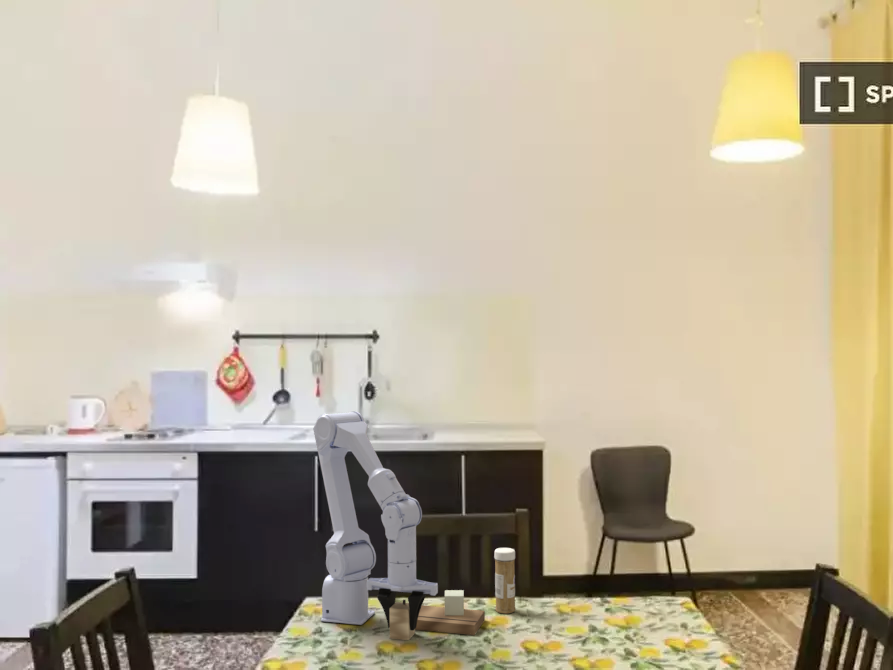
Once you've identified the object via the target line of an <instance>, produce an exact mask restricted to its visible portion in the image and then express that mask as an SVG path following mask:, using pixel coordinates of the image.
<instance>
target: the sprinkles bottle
mask: <svg viewBox="0 0 893 670" xmlns="http://www.w3.org/2000/svg"><path fill="white" fill-rule="evenodd" d="M493 558H494V561H495V564H494V565H495V566H494V567H495V568H494V569H495V573H494V585H495V586H494V590H495V592H494V596H495V607H494V608H495V609H494V610H495V612H497V613H499V614H507V615H508V614H512V613H515V611H516V580H515V579H516V575H515V559H516V551H515V548H511V547H498V548H496V549H495V550H494V556H493Z"/></svg>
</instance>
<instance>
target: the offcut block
mask: <svg viewBox="0 0 893 670" xmlns="http://www.w3.org/2000/svg"><path fill="white" fill-rule="evenodd" d="M464 591H465V590H464V589H463V590H462V589H459V590H458V589H454V590H453V589H451V590H448V589H446V590H444V607H445V615H464V609H465V608H464V607H465V606H464V605H465V603H464V602H465V596H464Z"/></svg>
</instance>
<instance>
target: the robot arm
mask: <svg viewBox="0 0 893 670" xmlns="http://www.w3.org/2000/svg"><path fill="white" fill-rule="evenodd" d="M367 434H368V424H367V423H366V422H365V418H364V417H363V415H362V414H361V413H360V412H359V411H356V410H355V411H350V412H349V411H348V412H338V413H329V414H328V413H322V414H320V415H319V416H318V418H317V419H316V422H315V424H314V426H313V435H314V439H315V440H314V441H315V444H316V449H317V454H318V459H319V464H320V470H321V474H322V478H323V485H324V489H325V495H326V500H327V504H328V509H329V514H330V519H331V524H332V529H333V535H332V536H331V538H329V539H328V541H327V542H326V544H325V550H326V558H325V559H326V560H325V565H326V570H327V571H328V573H329V574H328V575H327V576H325V578H324V580H323V584H322V589H321V607H322V608H321V609H322V612H321V618H320V621H321V622H329V623H335V624H336V623H338V624H339V623H340V624H348V625H359V626H362V625H363V624H365V623H366V622H367V621H368V620H369V619H370V618H371V617H372V616H373V615H375V614H376V612H375V610H371V609H369V591H372V590H378V594H376V597H377V600H378V602H379V603H380V606H381V607H382V609H383V613H384V615H385V618H386V623H387V627H388V629H390V607H391V606H392V605H393V604H395V603H396V598H397V597H396V596H397V592H399V593H400V592H401V593H402V592H403V593H411V594H409V596H408V597H407V603H409V609H410V630H414V629H415V628H416V626H417V620H418V615H419V612H420V609H421V606H422V605H424V601H425V599H426V596H427V595H430V596H433V597H434V596H435V597H436V595H437V594H438V593H439V585H438V582H430V581H426V580H421V579H417V526H418V525H419V524H420V523H421V521H422V517H423V510H422V507H421V505H420V502H419V501H418V500H417V499H416V498H414V497H411V496H410V494H408V493H407V494H406V492H405V491H404V488H403V487H402V486H401V484H400V482H399V481H398V478H397V477H396V474H395V473H394V472H393V471H392V470H391V469H389V468H385V467H383V465H382V462H381V461H380V460H381V459H380V458H379V457H378V455H377V452H376V451H375V448H374V446H373V445H372V443H371V441H370V439H369V437H368V435H367ZM349 451H351V453H352V454H353V456H354V457H355V458H356V460H357V461H358V463H359V465H360V466H361V467H362V469H363V470H364V472H365V473H366V474H367V475H368V481H367V486H368V488H369V490H370V492H371V493H372V495H373V496H374V498H375V500H376V503H378V505H379V507H380V509H381V510H382V514H381V515H380V520H381V522H382V525H383V527H384V531H385V537H386V539H387V577H370V578H369V575H371V574H372V573H371V572H372V571H371V570H373V568H374V567H375V565H376V563H377V554H376V551H375V548H374V546H373V544H372V543H371V539H370V535H369V534H368V533H367V532H365V531H364V530H363V529H361V528H360V527H359V523H358V518H357V515H356V514H357V513H356V509H355V503H354V499H353V494H352V493H353V492H352V489H351V484H350V479H349V475H348V471H347V470H348V468H347V464H346V460H345V457H346V455H347V453H348V452H349ZM351 543H352V544H351ZM346 544H350V545H346ZM344 545H345V546H344ZM415 630H416V629H415Z"/></svg>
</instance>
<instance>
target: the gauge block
mask: <svg viewBox="0 0 893 670" xmlns="http://www.w3.org/2000/svg"><path fill="white" fill-rule="evenodd" d="M415 634H416V629H414V630H410V609H409V602H407V601H406V599H402V601H401V602H398V601H395V604H393V605H392V606H391V607H390V628H389V639H393V640H402V641H409V640H410V639H411V638H412V637H413V636H414V635H415Z"/></svg>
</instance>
